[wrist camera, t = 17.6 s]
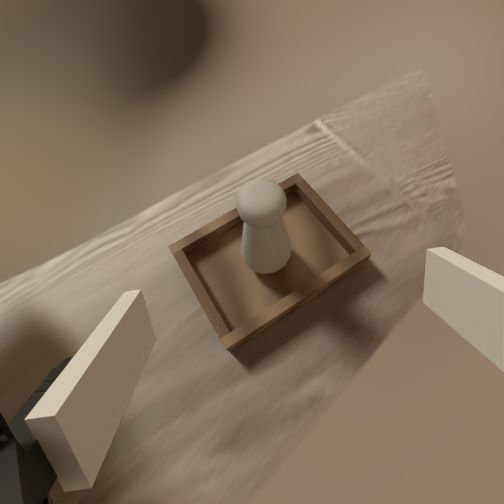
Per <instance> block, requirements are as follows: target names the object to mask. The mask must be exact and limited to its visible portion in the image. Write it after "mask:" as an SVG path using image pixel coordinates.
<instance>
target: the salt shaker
mask: <svg viewBox="0 0 504 504" xmlns="http://www.w3.org/2000/svg"><path fill="white" fill-rule="evenodd" d="M236 207H237V210H238V213H239V215H240V218H241V220H242V221H244V225H243V235H242V244H241V252H240V253H241V256H242V258H243V261H244V263H245V264H246V265H247V266H248V267H249V268H250V269H251V270H253V271H255V272H258V273H262V274H268V273H274V272H276V271H278V270H279V269H281V268H283V267H284V266H285V264H286V263H287V261H288V259H289V257H290V255H291V243H290V240H289V237H288V234H287V231H286V228H285V225H284V222H283V219H282V217H283V215H284V213H285V210H286V195H285V193H284V191H283V189H282V187H281V186H280V185H279V184H277V183H276V182H275V181H273V180H268V179H264V178H262V179H255V180H251V181H250V182H248V183H246V184H244V185H243V186H242V188H241V189H240V190H239V192H238V194H237V203H236Z"/></svg>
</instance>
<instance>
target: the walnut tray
mask: <svg viewBox="0 0 504 504" xmlns="http://www.w3.org/2000/svg"><path fill="white" fill-rule="evenodd" d="M279 185H280V186H281V187H282V189H283V191H284V193H285V195H286V210H285V213H284V215H283V217H282V219H283V222H284V225H285V228H286V231H287V234H288V237H289V240H290V243H291V255H290V257H289V259H288V261H287V263H286V264H285V266H284V267H283V268H281V269H279V270H278V271H276V272H274V273H268V274H262V273H258V272H255V271H253V270H251V269H250V268H249V267H248V266H247V265H246V264H245V263H244V261H243V258H242V256H241V253H240V252H241V244H242V235H243V225H244V221H242V220H241V218H240V215H239V213H238V210H237V208H235V209H233V210H232V211H230V212H228V213H226V214H225V215H223V216H221V217H219V218H218V219H216V220H214V221H212V222H210V223H209V224H207V225H205V226H203V227H202V228H200V229H198V230H196V231H195V232H193V233H191V234H189V235H188V236H186V237H184V238H182V239H181V240H179V241H177V242H175V243H173V244H172V245H170V246H168V247H169V248H170V250H171V252H172V254H173V256H174V257H175V259H176V261H177V263H178V264H179V266H180V268H181V270H182V272H183V273H184V275H185V277H186V279H187V281H188V282H189V284H190V286H191V288H192V290H193V291H194V293H195V295H196V297H197V298H198V300H199V302H200V304H201V306H202V307H203V309H204V311H205V313H206V315H207V316H208V318H209V320H210V322H211V324H212V325H213V327H214V329H215V331H216V333H217V334H218V336H219V338H220V340H221V341H222V343H223V345H224V347H225V349H226V350H228V351H229V352H231V351H233V350H234V349H236V348H238V347H239V346H241V345H242V344H244V343H245V342H247V341H248V340H250V339H251V338H253V337H254V336H256V335H257V334H259V333H260V332H262V331H263V330H265V329H266V328H268V327H269V326H271V325H272V324H274V323H275V322H277V321H278V320H280V319H282V318H283V317H285V316H286V315H288V314H289V313H291V312H292V311H294V310H295V309H297V308H298V307H300V306H301V305H303V304H304V303H306V302H307V301H309V300H310V299H312V298H313V297H315V296H316V295H318V294H319V293H321V292H323V291H324V290H326V289H327V288H329V287H330V286H332V285H333V284H335V283H336V282H338V281H339V280H341V279H342V278H344V277H345V276H347V275H348V274H350V273H351V272H353V271H354V270H356V269H357V268H359V267H360V266H362V265H363V264H365V262H366V261H367V260H368V258H369V257H370V255H371V254H372V253H371V252H370V251H369V250H368V249H367V248H366V247H365V246H364V245H363V243H362V242H361V241H360V240H359V239H358V238H357V237H356V236H355V235H354V234H353V233H352V231H351V230H350V229H349V228H348V227H347V226H346V225H345V224H344V223H343V222H342V221H341V219H340V218H339V217H338V216H337V215H336V214H335V213H334V212H333V211H332V210H331V208H330V207H329V206H328V205H327V204H326V203H325V202H324V201H323V200H322V199H321V198H320V196H319V195H318V194H317V193H316V192H315V191H314V190H313V189H312V188H311V187H310V185H309V184H308V183H307V182H306V181H305V180H304V179H303V178H302V177H301V176H300V175H299V173H297V174H295V175H293V176H291V177H290V178H288V179H286V180H284V181H283V182H281V183H279Z"/></svg>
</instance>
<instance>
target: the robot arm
mask: <svg viewBox="0 0 504 504" xmlns="http://www.w3.org/2000/svg"><path fill="white" fill-rule="evenodd" d="M423 303H425V304H426V305H427V306H428V307H429V308H430V309H431V310H433V311H434V312H435V313H436V314H437V315H438V316H440V317H441V318H442V319H443V320H444V321H445V322H447V323H448V324H449V325H450V326H451V327H452V328H453V329H455V330H456V331H457V332H458V333H459V334H461V335H462V336H463V337H464V338H465V339H466V340H467V341H468V342H470V343H471V344H472V345H473V346H474V347H475V348H477V349H478V350H479V351H480V352H481V353H482V354H484V355H485V356H486V357H487V358H488V359H489V360H490V361H492V362H493V363H494V364H495V365H496V366H497V367H499V368H500V369H501V370H502V371H503V372H504V277H503V276H501V275H499V274H497V273H495V272H492V271H491V270H489V269H487V268H485V267H483V266H481V265H479V264H477V263H475V262H473V261H471V260H469V259H467V258H465V257H463V256H461V255H459V254H457V253H455V252H453V251H451V250H449V249H447V248H445V247H439V248H432V249H427V256H426V268H425V281H424V294H423ZM155 341H156V337H155V333H154V330H153V327H152V323H151V320H150V317H149V313H148V310H147V307H146V304H145V300H144V297H143V294H142V290H133V291H126V292H124V293H123V295H122V296H121V297H120V298H119V300H118V301H117V302H116V303H115V305H114V306H113V307H112V309H111V310H110V311H109V312H108V314H107V315H106V316H105V318H104V319H103V320H102V321H101V323H100V324H99V325H98V326H97V328H96V329H95V330H94V332H93V333H92V334H91V335H90V337H89V338H88V339H87V340H86V342H85V343H84V344H83V346H82V347H81V348H80V349H79V351H78V352H77V353H76V354H75V356H74V357H72V358H67V359H66V360H64V361H63V362H62V363H61V364H59V365H58V366H57V367H55V368H54V369H53V370H52V371H51V372H50V374H49V375H48V376H47V377H46V378H45V380H44V381H43V384H40V386H39V387H38V388H37V389H36V390H35V393H34V394H32V395H31V396H30V398H29V399H28V400H27V401H26V402H25V404H24V405H23V406H22V407H21V408H20V410H19V411H18V412H17V413H16V414H15V416H14V417H13V418H12V419H11V420H10V422H9V423H8V424H7V423H6V421H5V420H4V418H3V416H2V415H1V413H0V504H53V501H52V499H51V498H50V496H49V494H48V493H49V491H50V489H51V488H52V486H53V484H54V482H55V480H56V478H57V479H58V481H59V483H60V485H61V487H62V488H63V490H64V492H68V491H76V490H83V489H91V488H92V486H93V484H94V482H95V479H96V477H97V475H98V472H99V470H100V468H101V466H102V463H103V461H104V459H105V456H106V454H107V452H108V449H109V447H110V445H111V442H112V440H113V438H114V435H115V433H116V431H117V429H118V426H119V424H120V422H121V419H122V417H123V415H124V412H125V410H126V408H127V405H128V403H129V401H130V399H131V396H132V394H133V392H134V389H135V387H136V385H137V382H138V380H139V378H140V375H141V373H142V371H143V368H144V366H145V364H146V362H147V359H148V357H149V355H150V352H151V350H152V348H153V345H154V343H155Z"/></svg>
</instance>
